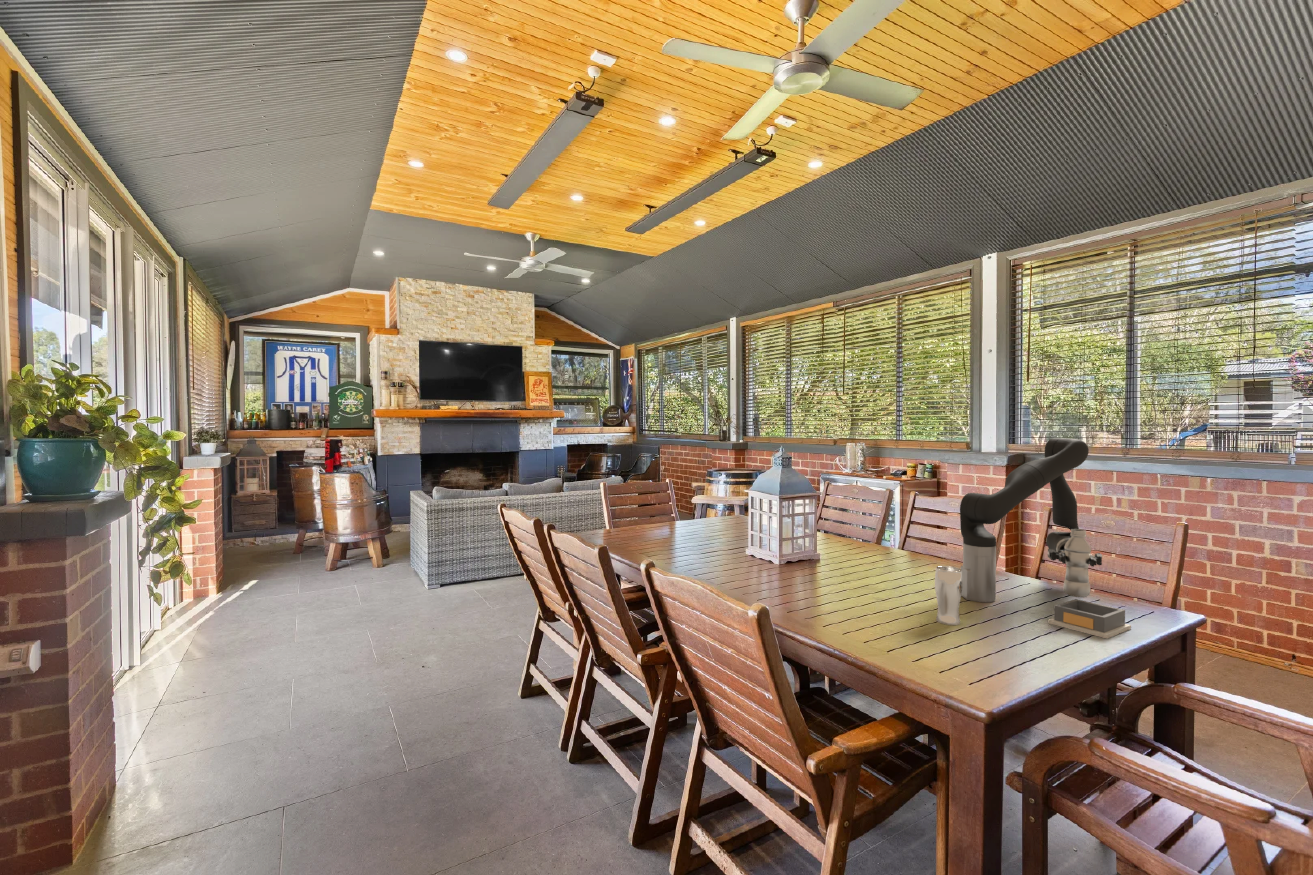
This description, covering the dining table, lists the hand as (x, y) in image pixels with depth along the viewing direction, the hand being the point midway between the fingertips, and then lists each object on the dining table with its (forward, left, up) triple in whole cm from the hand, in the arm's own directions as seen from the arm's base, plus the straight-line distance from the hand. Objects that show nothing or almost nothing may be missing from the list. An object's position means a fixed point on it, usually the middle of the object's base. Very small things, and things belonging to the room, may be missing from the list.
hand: (1078, 561), depth 177 cm
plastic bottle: (+1, +2, -11) cm, 12 cm away
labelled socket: (-4, -14, -15) cm, 21 cm away
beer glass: (-41, -16, -15) cm, 46 cm away
